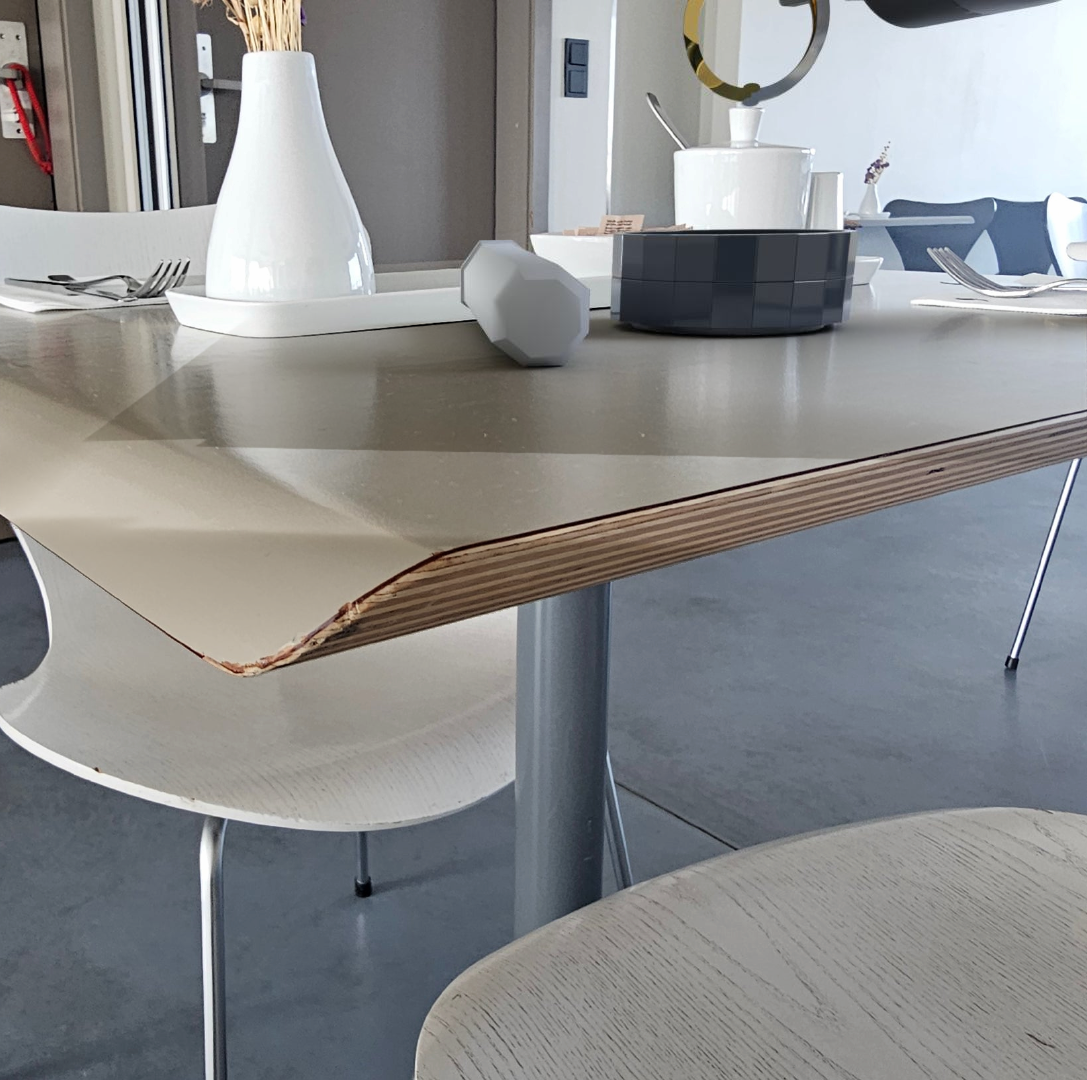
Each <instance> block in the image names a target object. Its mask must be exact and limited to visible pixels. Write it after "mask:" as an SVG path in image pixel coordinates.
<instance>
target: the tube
mask: <svg viewBox="0 0 1087 1080" xmlns="http://www.w3.org/2000/svg"><path fill="white" fill-rule="evenodd" d="M459 298H460V299H459V302H460V303H461V304H462V305H463V306H465V307H466V308H467V309H469V310H470V312H471V313H472V315H473V317H474V318H475V319H476V321H477V322H478V324H479V325H480V327H481V329H482V330H483V331H484V333H485V335H486V336H487V338H488V339H489V341H490V342H491V343H492V344H493V345H495V346H496V347H497V348H499V349H500V350H501V351H503V352H504V353H505V354H507V355H508V356H509V357H511V358H512V359H513V360H514V361H516V362H517V363H518V364H520V365H521V366H522V367H557V366H558V367H559V366H561V367H562V366H565V365H566V364H567V362H568V361H569V359H570V358H571V356H572V355H573V354H574V352H576V350H577V349H578V347H579V346H580V345H581V343H582V342H583V340H584V339H585V338H586V336H587V335H589V332H590V308H591V289H590V288H589V287H588V286H586V285H585V284H584V283H583V282H581V281H580V280H578V279H577V278H576V277H575V276H573V275H572V273H570V272H568V271H567V270H566V269H565V268H564V267H562V266H561V265H559V264H558V263H556V262H555V261H551V260H549V259H547V258H544V257H542V256H540V255H537V254H535V253H533V252H530V251H528V250H527V249H524V248H523V247H522V246H521V245H519V244H518V243H517V242H515V240H513V239H491V240H484V239H481V240H478V242H477V243H476V245H475V246H474V248H473V249H472V250H471V251H470V253H469V255H468V256H467V257H466V259H465V260H464V262H463V263H462V264H461V266H460V268H459Z"/></svg>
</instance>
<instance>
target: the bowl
mask: <svg viewBox="0 0 1087 1080" xmlns="http://www.w3.org/2000/svg"><path fill="white" fill-rule="evenodd" d="M858 241H859V231H858V230H856V229H855V230H854V229H837V228H835V229H834V228H833V229H832V228H713V229H710V228H709V229H706V228H705V229H667V230H665V229H664V230H663V229H662V230H661V229H660V230H635V231H634V230H633V231H632V230H630V231H616V232H614V233H612V251H611V252H612V254H611V256H612V257H611V280H610V281H611V283H610V284H611V285H610V287H611V288H610V309H609V310H610V312H609V315H610V316H609V318H610V319H611V320H614V321H616V322H619V323H625V324H631V327H632V328H635V329H637V330H642V331H647V332H654V333H663V334H675V335H692V336H693V335H695V336H739V337H740V336H773V335H774V336H775V335H776V336H777V335H791V334H803V333H810V332H815V331H819V330H822V329H824V328H825V326H828V325H834V324H840V323H843V322H847V321H848V320H850V314H851V305H852V298H853V297H852V295H853V287H854V277H855V267H856V260H857V259H856V258H857V250H858V249H857V248H858Z"/></svg>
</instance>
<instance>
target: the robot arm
mask: <svg viewBox="0 0 1087 1080" xmlns="http://www.w3.org/2000/svg"><path fill="white" fill-rule="evenodd" d="M844 1H845V2H864V3H865V5H866V6H867V8H868V9H870V11H871V12H873V14H875V16H877V17H878V18H879V19H881V20H882V21H884V22H885V23H887V24H888V25H889V24H890V25H892V26H894V27H896V28H897V27H899V28H902V29H920V28H921V29H922V28H928V27H931V26H936V25H937V26H938V25H942V24H948V23H954V22H959V21H964V20H969V19H975V18H982V17H987V16H992V15H997V14H1003V13H1008V12H1013V11H1019V10H1024V9H1029V8H1036V7H1042V6H1046V5H1051V4H1053V3H1054V4H1055V3H1057V2H1061V1H1062V0H844ZM778 4H779V5H780V6H781V7H786V8H787V7H789V8H796V7H799V6H804V5H809V3H808V0H778Z"/></svg>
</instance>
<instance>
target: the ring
mask: <svg viewBox="0 0 1087 1080" xmlns="http://www.w3.org/2000/svg"><path fill="white" fill-rule="evenodd" d="M705 2H706V0H687V2H686V5H685V10H684V13H683V14H684V15H683V20H682V21H683V22H682V38H683V39H682V40H683V46H684V50H685V53H686V57H687V60H688V62H689V65H690V67H691V69H692V71H693V72H694V75H695V76H696V77H697V79H698V80H699V81H700V82H701V84H702V85H703V86H704V87H705V88H707V90H708V91H710V92H711V93H713V94H714V95H715V96H718V97H720V98H722V99H724V100H727V101H730V102H734V103H740V106H741V107H743V108H746V109H752V108H755V107H757V106H758V105H759V103H761V102H766V101H769V100H773V99H775V98H777V97H779V96H781V95H783V94H785V93H787V92H788V91H790V90H791V89H792V88H794V87H795V86H796V85H797V84H799V83H800V82H801V81H802V80H803V79H804V78H805V77H806V75H807V74H808V73H809V72H810V70H811V69H812V68H813V66H814V65H815V63H816V62H817V59H818V57H819V55H820V53H821V52H822V50H823V47H824V45H825V42H826V38H827V35H828V32H829V28H830V27H829V26H830V21H831V3H830V2H831V1H830V0H808V3H809V4H808V5H809V8H810V13H811V24H812V25H811V32H810V38H809V42H808V45H807V47H806V49H805V52H804V54H803V56H802V57H801V59H800V61H799V62H798V64H797V65H796V66H795V67H794V69H792V70H791V72H790V73H788V74H787V75H786V76H784V77H783V78H781V79H780V80H778V81H776V82H773V83H771V84H769V85H767V86H762V87H761V85H760V84H758V83H756V82H749V83H746V84H744V85H743V86H742V87H740V86H735V85H732V84H729V83H728V82H726V81H724V80H722V79H721V78H719V76H718V77H717V75H715V73H714V72H713V71H712V70H711V69H710V67H709V66H708V65H707V63H706V61H705V59H704V57H703V55H702V52H701V49H700V48H701V47H700V44H699V37H698V36H699V35H698V33H699V32H698V27H699V26H698V25H699V18H700V15H701V12H702V11H701V10H702V8H703V6H704V4H705Z"/></svg>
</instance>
